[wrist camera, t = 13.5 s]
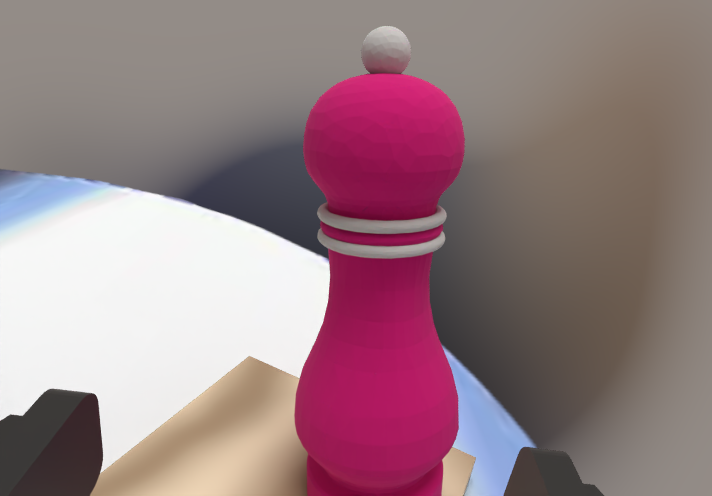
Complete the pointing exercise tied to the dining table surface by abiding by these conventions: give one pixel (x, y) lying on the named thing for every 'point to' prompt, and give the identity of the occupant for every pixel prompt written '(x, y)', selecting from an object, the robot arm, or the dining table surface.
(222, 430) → the birch board
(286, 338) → the dining table surface
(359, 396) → the pepper mill
